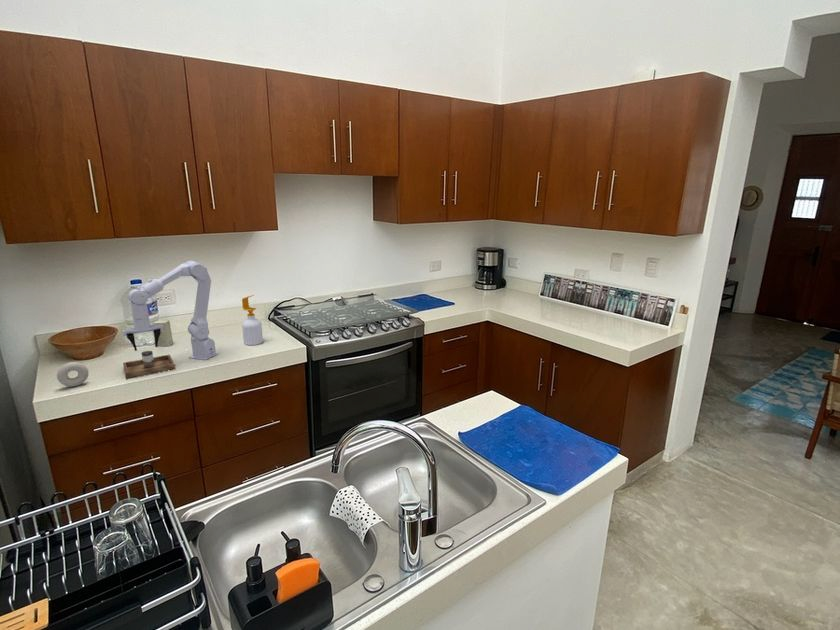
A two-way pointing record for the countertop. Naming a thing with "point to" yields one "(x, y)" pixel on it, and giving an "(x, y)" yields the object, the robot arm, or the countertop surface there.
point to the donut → (72, 366)
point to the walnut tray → (137, 368)
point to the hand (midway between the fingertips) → (146, 348)
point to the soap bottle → (251, 326)
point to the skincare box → (164, 333)
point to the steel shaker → (148, 359)
